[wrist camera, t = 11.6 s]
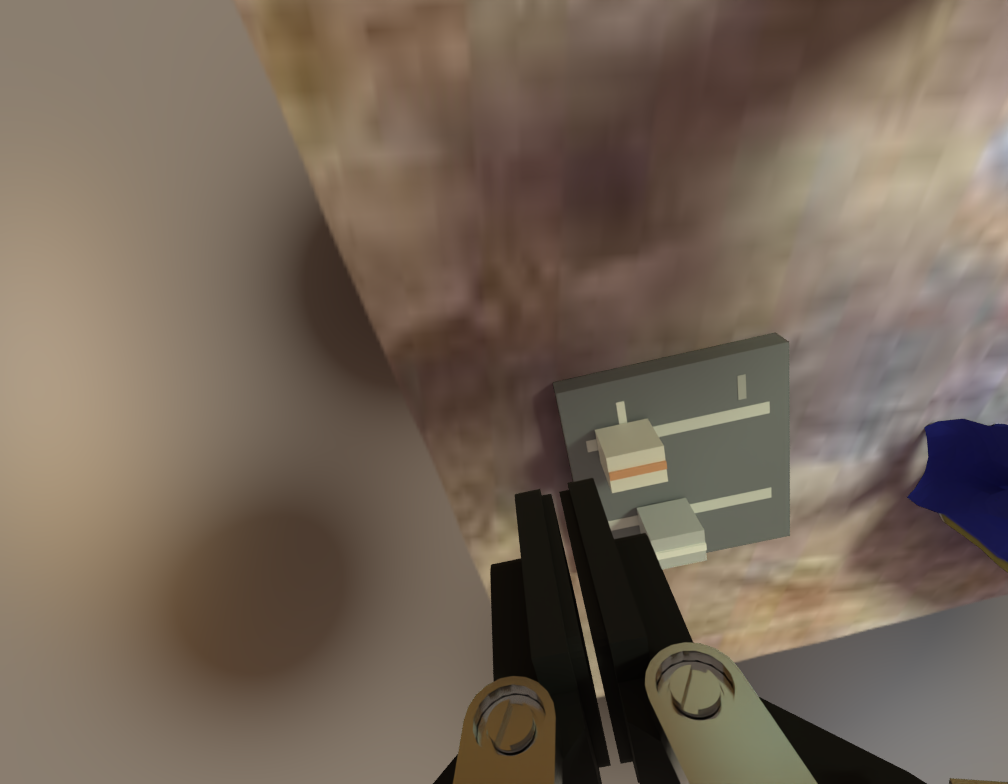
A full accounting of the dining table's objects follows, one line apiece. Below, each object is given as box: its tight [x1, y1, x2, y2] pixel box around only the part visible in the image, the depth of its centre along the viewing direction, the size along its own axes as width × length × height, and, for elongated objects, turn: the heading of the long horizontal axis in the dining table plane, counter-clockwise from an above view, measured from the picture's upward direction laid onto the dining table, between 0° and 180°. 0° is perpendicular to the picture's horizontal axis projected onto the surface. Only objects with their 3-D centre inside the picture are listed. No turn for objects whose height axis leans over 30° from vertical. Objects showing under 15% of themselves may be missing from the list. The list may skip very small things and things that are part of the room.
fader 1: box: [595, 418, 668, 493], centre depth 40 cm, size 4×3×4 cm
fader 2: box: [637, 498, 707, 569], centre depth 43 cm, size 4×3×4 cm
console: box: [553, 333, 790, 553], centre depth 44 cm, size 17×18×2 cm
